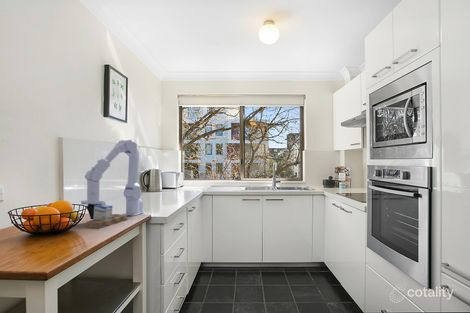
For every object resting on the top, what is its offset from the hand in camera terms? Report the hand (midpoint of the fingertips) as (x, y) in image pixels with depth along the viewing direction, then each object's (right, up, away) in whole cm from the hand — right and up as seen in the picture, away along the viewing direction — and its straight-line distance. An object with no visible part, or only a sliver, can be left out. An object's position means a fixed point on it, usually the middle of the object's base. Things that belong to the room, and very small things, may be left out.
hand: (93, 218), depth 142 cm
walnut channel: (+9, -2, -3) cm, 10 cm away
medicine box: (+6, -1, -2) cm, 6 cm away
